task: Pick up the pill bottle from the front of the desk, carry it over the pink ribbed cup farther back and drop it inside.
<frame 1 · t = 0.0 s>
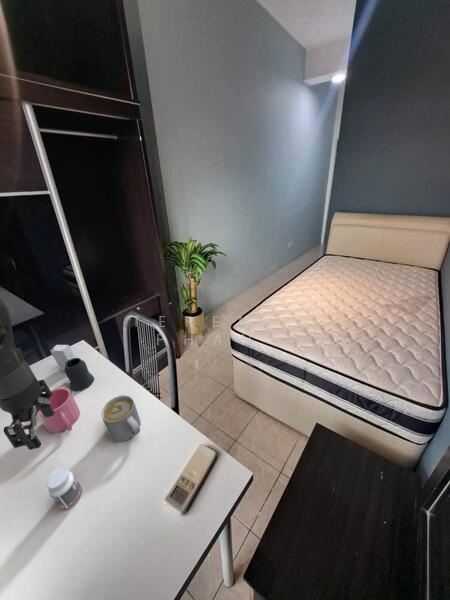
hand: (43, 430, 61), 21 cm above the table, tool pointing down, fingers open, 8 cm apart
coffee mug: (127, 431, 83), on the table
cosmetic box: (70, 368, 111), on the table
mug: (80, 381, 104), on the table
pink ribbed cup: (63, 419, 88), on the table
pill bottle: (71, 497, 66), on the table
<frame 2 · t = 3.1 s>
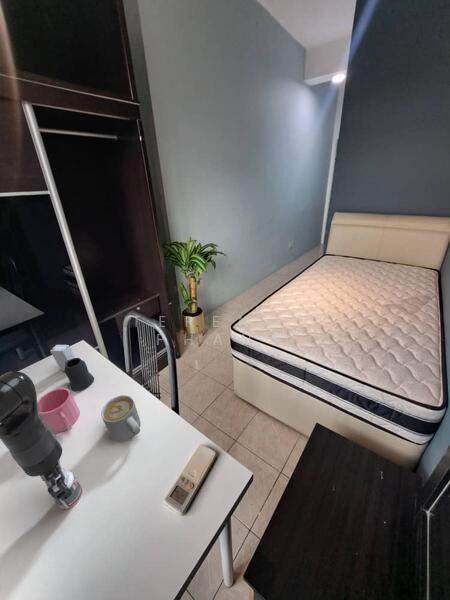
hand: (63, 486, 64), 6 cm above the table, tool pointing down, fingers closed on pill bottle, 5 cm apart
pill bottle: (71, 497, 66), on the table, touching gripper
everything else where it was.
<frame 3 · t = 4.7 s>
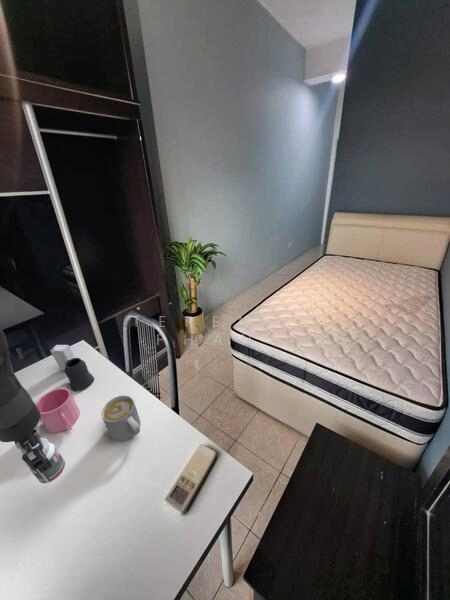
hand: (43, 458, 58), 18 cm above the table, tool pointing down, fingers closed on pill bottle, 5 cm apart
pill bottle: (52, 471, 60), point 12 cm above the table, touching gripper
everything else where it was.
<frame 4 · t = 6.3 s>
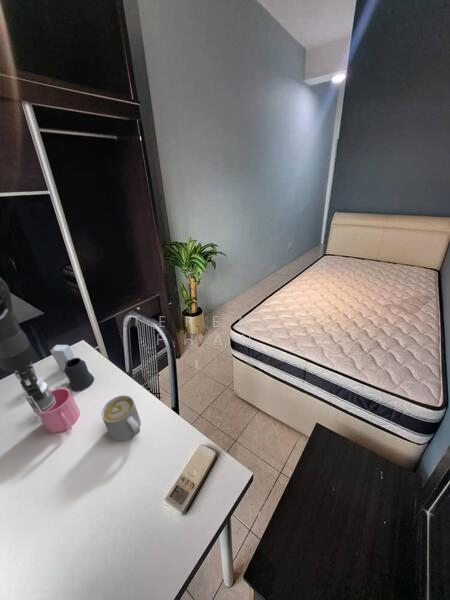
hand: (37, 393, 72), 21 cm above the table, tool pointing down, fingers closed on pill bottle, 5 cm apart
pill bottle: (45, 406, 74), point 15 cm above the table, touching gripper
everything else where it was.
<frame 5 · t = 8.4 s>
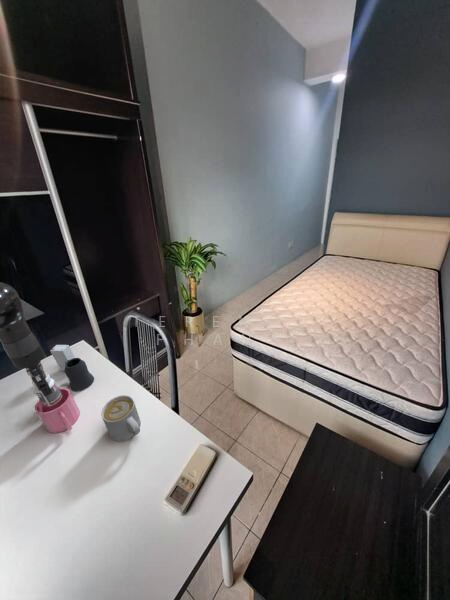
hand: (46, 388, 80), 15 cm above the table, tool pointing down, fingers closed on pill bottle, 5 cm apart
pill bottle: (53, 400, 83), point 10 cm above the table, touching gripper
everything else where it was.
when the fingers open (13 cm above the table, at t = 9.6 s): pill bottle drops 7 cm, resting on pink ribbed cup.
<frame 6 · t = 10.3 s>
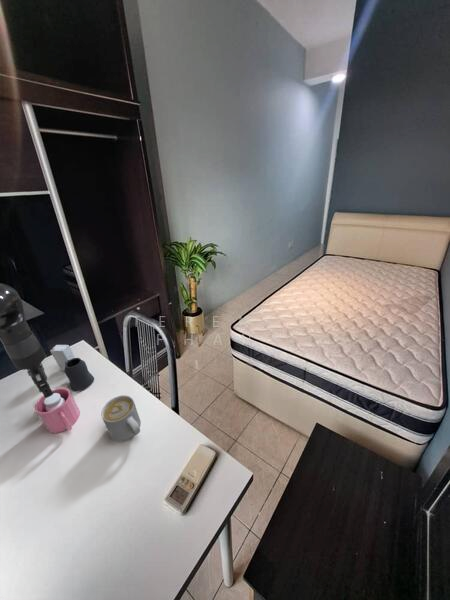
hand: (46, 388, 80), 16 cm above the table, tool pointing down, fingers open, 8 cm apart
pill bottle: (63, 418, 88), point 1 cm above the table, touching pink ribbed cup
everything else where it was.
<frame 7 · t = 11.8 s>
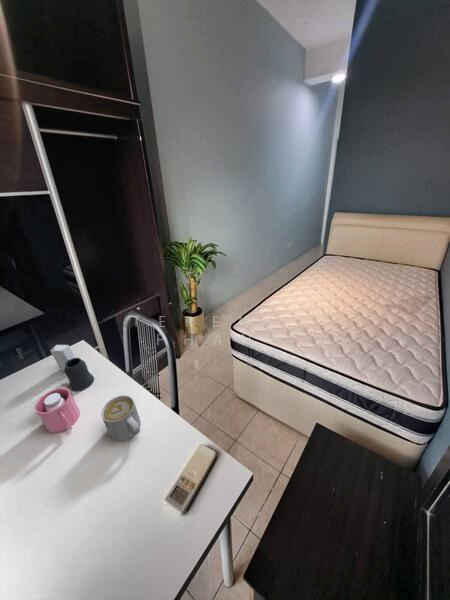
nothing on the table moved.
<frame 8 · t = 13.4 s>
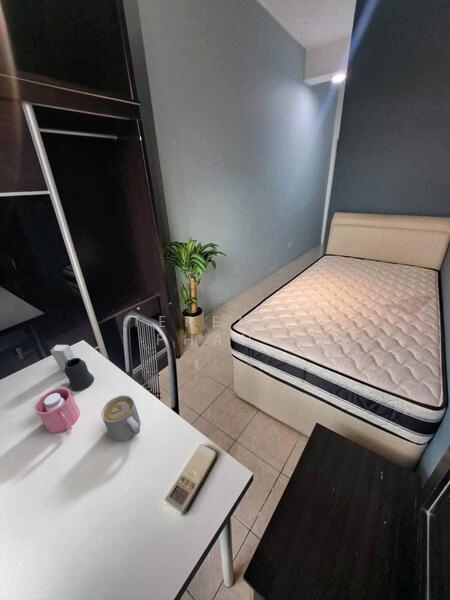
nothing on the table moved.
at the end: pill bottle inside the target area in the pink ribbed cup (0.0 cm from its centre), point 0.6 cm above the pink ribbed cup's base; the gripper is holding nothing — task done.
